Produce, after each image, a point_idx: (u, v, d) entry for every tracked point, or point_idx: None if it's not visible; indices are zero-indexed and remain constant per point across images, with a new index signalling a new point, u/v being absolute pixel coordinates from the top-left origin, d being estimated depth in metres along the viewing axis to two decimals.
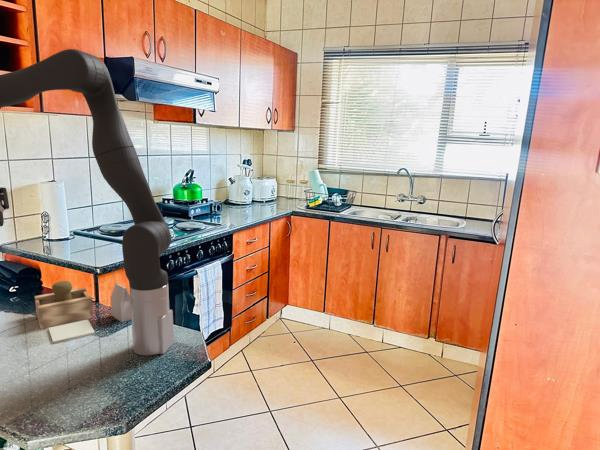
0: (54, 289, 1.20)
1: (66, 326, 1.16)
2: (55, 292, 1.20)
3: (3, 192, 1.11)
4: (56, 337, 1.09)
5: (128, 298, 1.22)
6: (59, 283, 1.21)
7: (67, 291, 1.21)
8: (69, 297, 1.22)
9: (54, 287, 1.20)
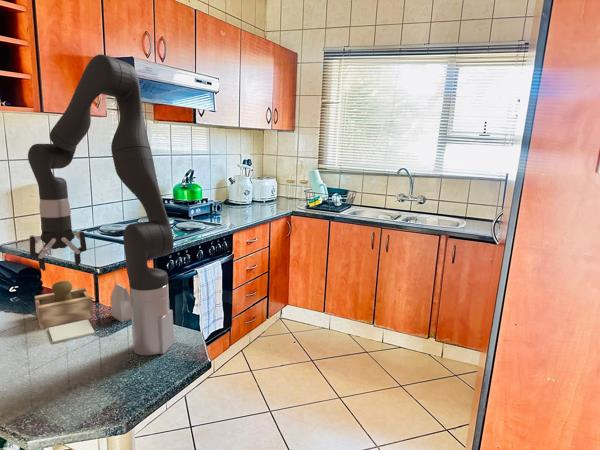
0: (54, 289, 1.20)
1: (66, 326, 1.16)
2: (55, 292, 1.20)
3: None
4: (56, 337, 1.09)
5: (128, 298, 1.22)
6: (59, 283, 1.21)
7: (67, 291, 1.21)
8: (69, 297, 1.22)
9: (54, 287, 1.20)
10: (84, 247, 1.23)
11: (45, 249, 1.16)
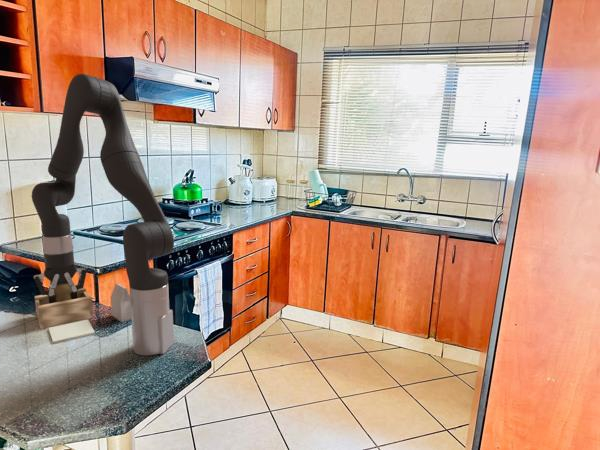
0: (54, 289, 1.20)
1: (66, 326, 1.16)
2: (55, 292, 1.20)
3: None
4: (56, 337, 1.09)
5: (128, 298, 1.22)
6: None
7: (67, 291, 1.21)
8: (69, 297, 1.22)
9: None
10: (81, 285, 1.24)
11: (52, 286, 1.19)
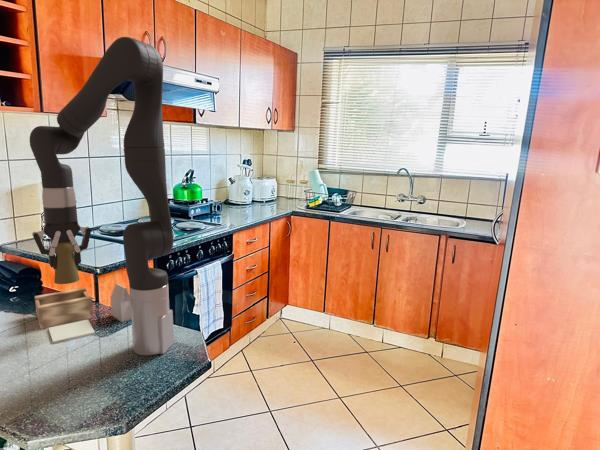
0: (55, 248, 1.07)
1: (66, 326, 1.16)
2: (56, 251, 1.07)
3: None
4: (56, 337, 1.09)
5: (128, 298, 1.22)
6: (61, 242, 1.08)
7: (70, 251, 1.09)
8: (72, 258, 1.10)
9: None
10: (85, 245, 1.11)
11: (53, 245, 1.06)
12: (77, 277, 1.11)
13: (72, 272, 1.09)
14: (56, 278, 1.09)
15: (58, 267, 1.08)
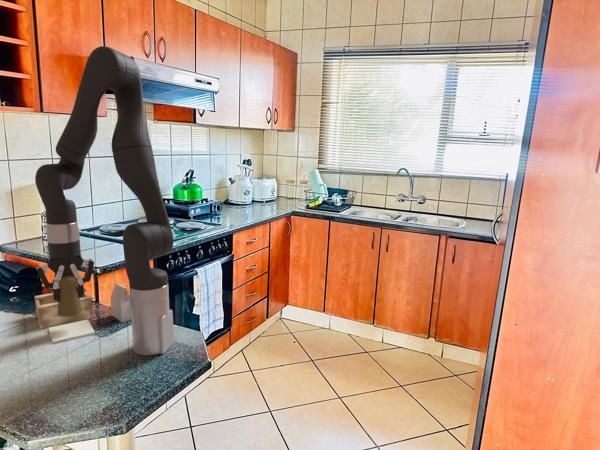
0: (59, 282, 1.09)
1: (66, 326, 1.16)
2: (60, 285, 1.09)
3: None
4: (56, 337, 1.09)
5: (128, 298, 1.22)
6: None
7: (73, 284, 1.11)
8: (75, 291, 1.12)
9: None
10: (88, 277, 1.13)
11: (57, 278, 1.08)
12: (80, 309, 1.13)
13: (75, 304, 1.12)
14: (59, 310, 1.11)
15: (62, 300, 1.10)
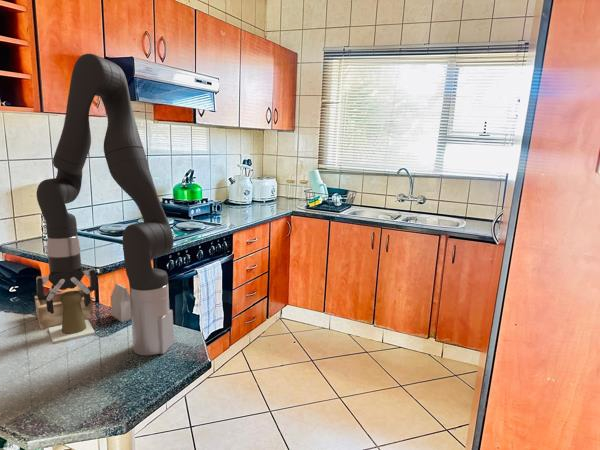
0: (63, 300, 1.10)
1: None
2: (64, 303, 1.10)
3: None
4: (56, 337, 1.09)
5: (128, 298, 1.22)
6: (68, 293, 1.11)
7: (77, 302, 1.12)
8: (79, 308, 1.13)
9: (63, 298, 1.10)
10: (94, 286, 1.15)
11: (53, 291, 1.08)
12: (84, 326, 1.14)
13: (79, 321, 1.13)
14: (64, 328, 1.12)
15: (66, 317, 1.11)
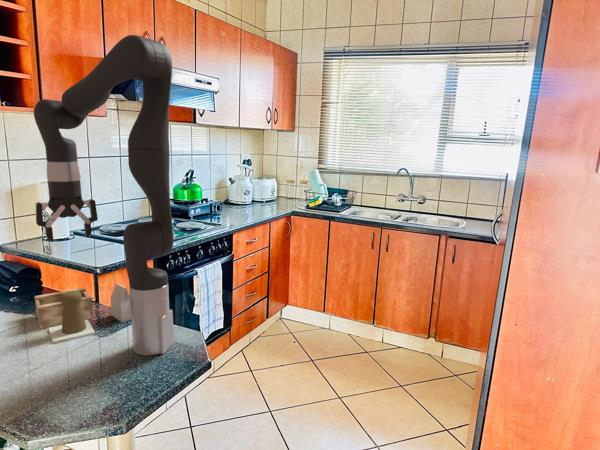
0: (63, 300, 1.10)
1: None
2: (64, 303, 1.10)
3: None
4: (56, 337, 1.09)
5: (128, 298, 1.22)
6: (68, 293, 1.11)
7: (77, 302, 1.12)
8: (79, 308, 1.13)
9: (63, 298, 1.10)
10: (95, 217, 1.13)
11: (53, 217, 1.06)
12: (84, 326, 1.14)
13: (79, 321, 1.13)
14: (64, 328, 1.12)
15: (66, 317, 1.11)
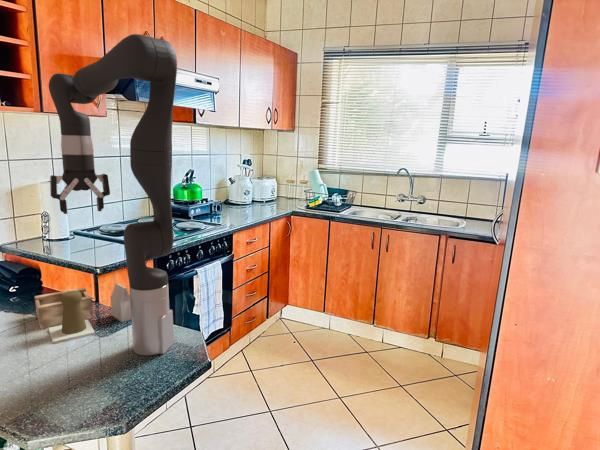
0: (63, 300, 1.10)
1: None
2: (64, 303, 1.10)
3: None
4: (56, 337, 1.09)
5: (128, 298, 1.22)
6: (68, 293, 1.11)
7: (77, 302, 1.12)
8: (79, 308, 1.13)
9: (63, 298, 1.10)
10: (107, 191, 1.15)
11: (67, 190, 1.08)
12: (84, 326, 1.14)
13: (79, 321, 1.13)
14: (64, 328, 1.12)
15: (66, 317, 1.11)
